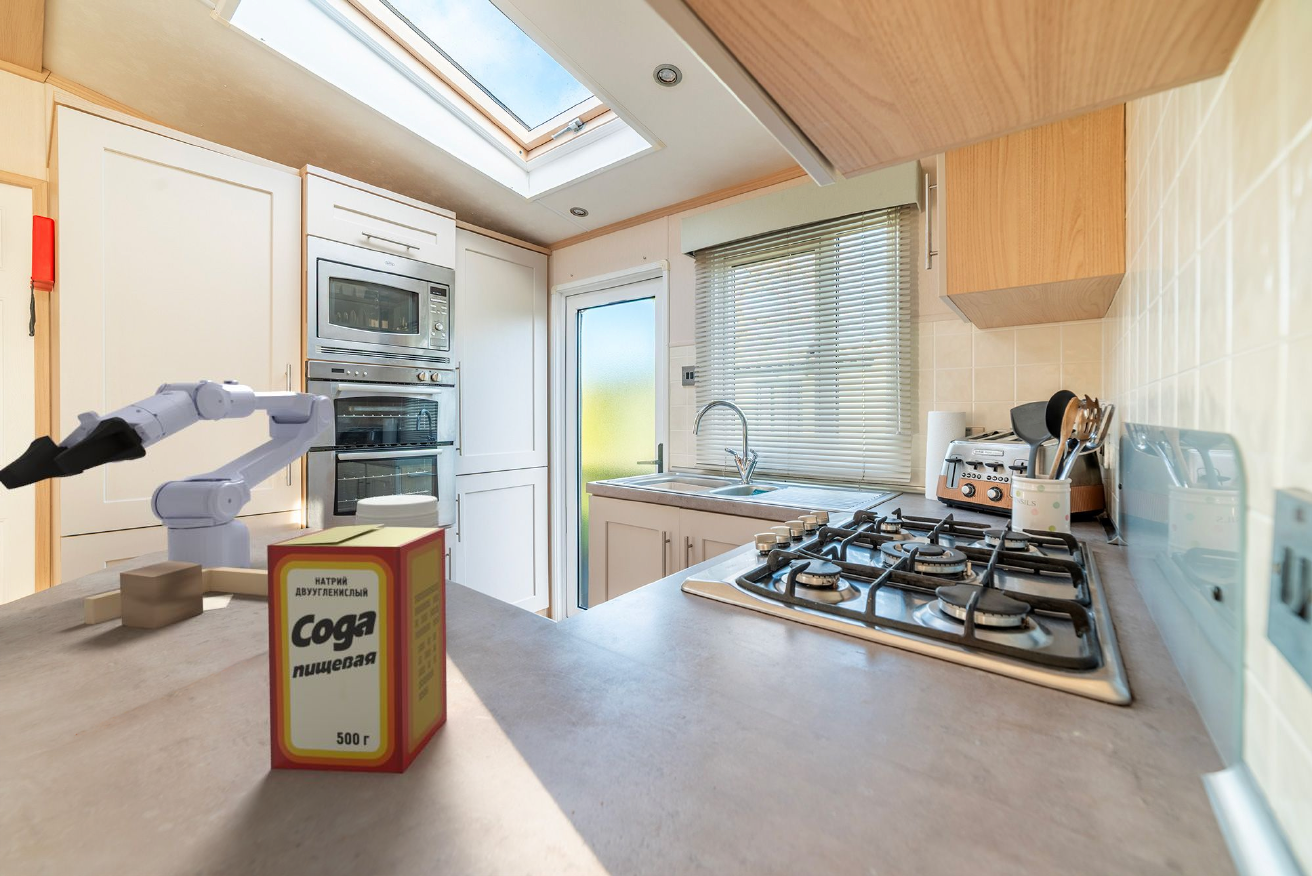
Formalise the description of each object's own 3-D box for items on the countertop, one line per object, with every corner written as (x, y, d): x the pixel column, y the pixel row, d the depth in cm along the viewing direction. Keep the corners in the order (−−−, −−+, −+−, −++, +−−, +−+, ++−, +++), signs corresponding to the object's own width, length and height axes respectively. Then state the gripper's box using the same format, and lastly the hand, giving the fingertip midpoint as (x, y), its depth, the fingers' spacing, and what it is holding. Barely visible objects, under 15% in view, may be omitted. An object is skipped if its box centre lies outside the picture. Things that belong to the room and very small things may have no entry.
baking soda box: (446, 719, 42) (444, 523, 41) (403, 773, 35) (400, 541, 35) (334, 716, 42) (331, 522, 42) (270, 768, 36) (267, 540, 35)
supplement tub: (337, 621, 63) (335, 502, 63) (399, 597, 72) (398, 492, 72) (397, 631, 60) (396, 506, 60) (455, 605, 69) (454, 495, 68)
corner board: (213, 595, 73) (213, 566, 73) (324, 605, 69) (324, 574, 68) (84, 634, 59) (83, 598, 59) (212, 650, 55) (212, 611, 55)
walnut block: (171, 608, 63) (170, 560, 63) (203, 612, 62) (201, 564, 62) (121, 624, 59) (119, 573, 58) (154, 629, 57) (152, 577, 57)
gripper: (72, 412, 69) (-51, 458, 57) (167, 386, 68) (62, 427, 56) (109, 456, 72) (-1, 510, 60) (200, 432, 71) (107, 482, 59)
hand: (32, 474), depth 58 cm, fingers open, 7 cm apart
